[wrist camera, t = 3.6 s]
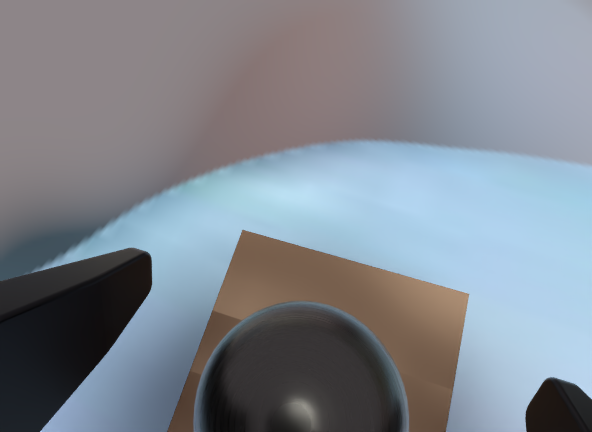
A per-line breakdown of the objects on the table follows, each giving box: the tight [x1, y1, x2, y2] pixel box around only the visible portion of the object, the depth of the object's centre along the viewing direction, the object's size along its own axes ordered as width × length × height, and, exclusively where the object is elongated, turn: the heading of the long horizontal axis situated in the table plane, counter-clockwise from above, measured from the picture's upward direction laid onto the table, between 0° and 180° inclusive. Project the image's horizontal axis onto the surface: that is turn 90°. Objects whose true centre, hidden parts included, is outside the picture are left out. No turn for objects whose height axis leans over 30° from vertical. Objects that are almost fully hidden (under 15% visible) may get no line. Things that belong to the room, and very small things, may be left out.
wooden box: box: [167, 230, 469, 432], centre depth 15 cm, size 8×8×6 cm
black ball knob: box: [193, 301, 409, 432], centre depth 9 cm, size 6×6×9 cm
